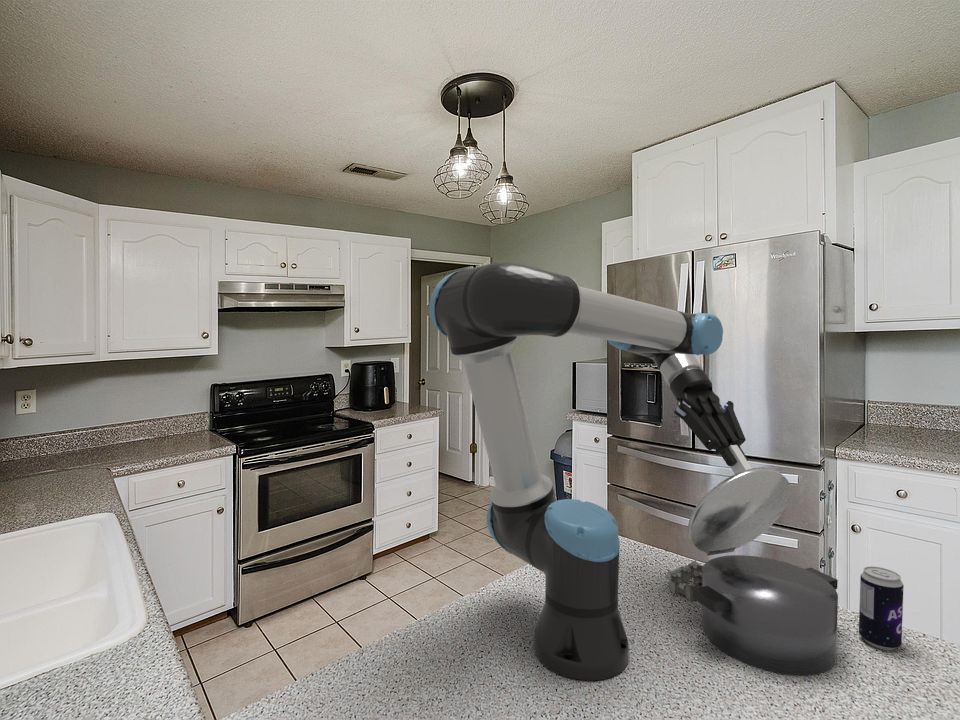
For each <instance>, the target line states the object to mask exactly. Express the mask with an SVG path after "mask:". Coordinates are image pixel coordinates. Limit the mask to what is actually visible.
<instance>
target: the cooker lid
mask: <svg viewBox="0 0 960 720" xmlns="http://www.w3.org/2000/svg"><path fill="white" fill-rule="evenodd" d="M751 468H752V467H751ZM790 497H791V485H790V482H789V480H788V479H787V478H786V476H784V475H783V474H782V473H781V472H780V471H779V470H777V469H775V468H771V467H765V466H760V467H753V468H752V469H748V470H744V471H742V472H739V473H737V474H732V475H731V476H729V477H727V478H725V479H724V480H722V481H720V482H719V483H718V484H716V485H715V486H714V487H713V488H712V489H710V490H709V491H708V492H707V493H706V494H705V495H704V496H703V497H702V498H701V500H699V502H698V503H697V504H696V506H695V508H694V509H693V511H692V513H691V515H690V517H689V519H688V522H687V535H688V538H689V540H690V541H691V543H693V545H694V546H695V547H696V549H698V550H699V551H700V552H704V553H705V554H706V556H715V555H722V554H727V553H728V554H729V553H733V552H735V550H736V549H739V548H740V547H744V546H745V545H748V544H749V543H750V542H752V541H754V540H755V539H757V538H758V537H759V536H761V535H762V534H764V532H766V531H768V529H769V528H771V526H773V525H774V524H775V522H776V521H777V520H778V519H779V518H780V516H781V515H782V514H783V512H784V510H785V508H786V507H787V505H788V503H789V499H790Z"/></svg>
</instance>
